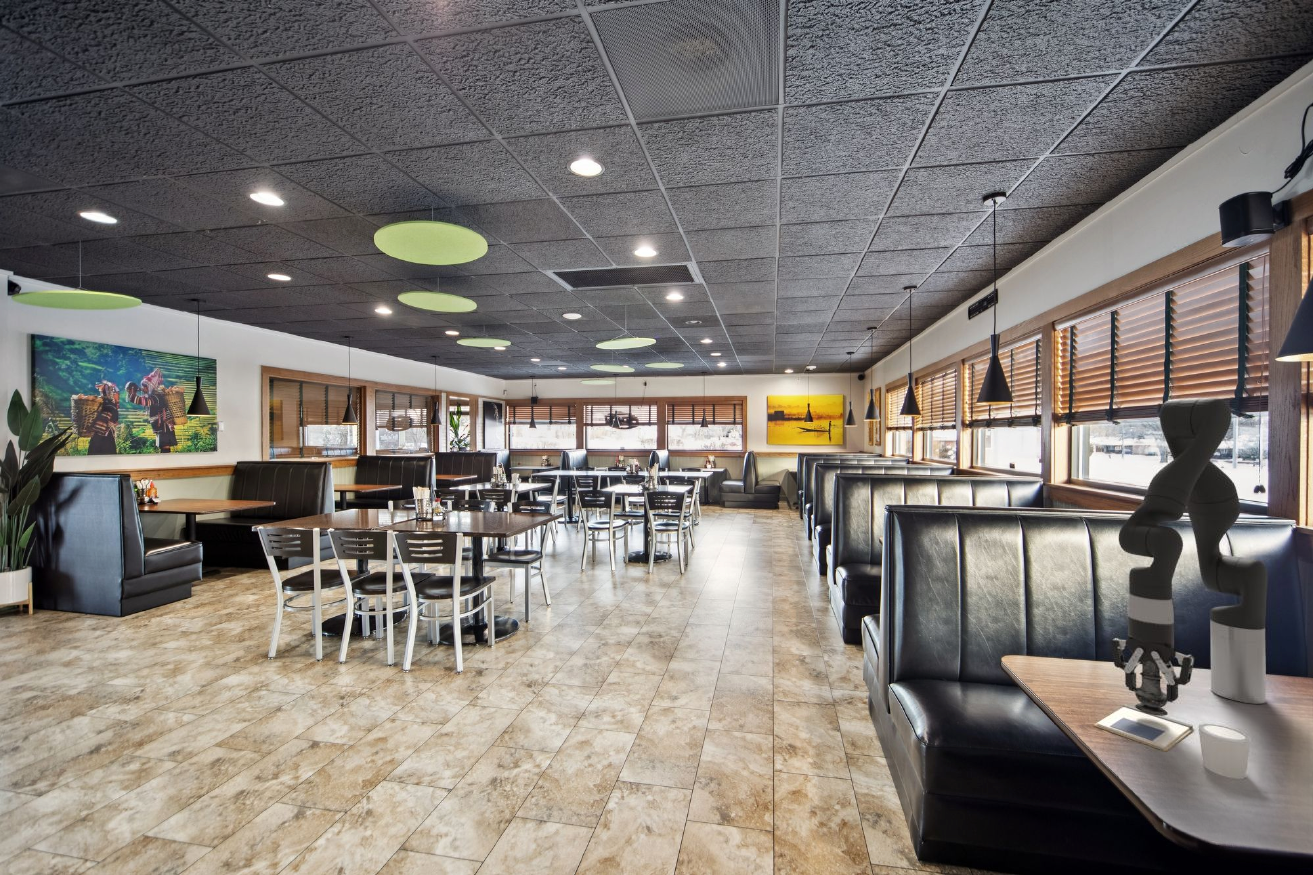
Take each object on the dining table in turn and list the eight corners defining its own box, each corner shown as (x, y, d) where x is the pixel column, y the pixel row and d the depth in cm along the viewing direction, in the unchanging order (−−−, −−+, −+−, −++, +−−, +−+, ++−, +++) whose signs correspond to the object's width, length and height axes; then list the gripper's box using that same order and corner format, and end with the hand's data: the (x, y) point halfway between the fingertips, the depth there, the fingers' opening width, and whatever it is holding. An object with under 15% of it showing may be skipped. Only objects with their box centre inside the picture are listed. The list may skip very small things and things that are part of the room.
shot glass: (1242, 784, 101) (1241, 744, 101) (1191, 765, 107) (1191, 727, 107) (1257, 774, 104) (1257, 735, 104) (1207, 756, 110) (1207, 719, 110)
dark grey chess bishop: (1176, 717, 120) (1176, 659, 120) (1144, 714, 121) (1144, 657, 121) (1157, 705, 125) (1157, 650, 125) (1127, 702, 126) (1126, 648, 127)
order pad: (1124, 707, 130) (1124, 703, 130) (1194, 730, 120) (1194, 725, 120) (1093, 726, 122) (1093, 721, 122) (1166, 751, 112) (1166, 746, 112)
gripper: (1200, 623, 119) (1201, 704, 119) (1116, 606, 131) (1117, 680, 131) (1188, 629, 115) (1189, 713, 115) (1103, 611, 127) (1103, 687, 127)
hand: (1150, 695), depth 123 cm, fingers closed on dark grey chess bishop, 6 cm apart
